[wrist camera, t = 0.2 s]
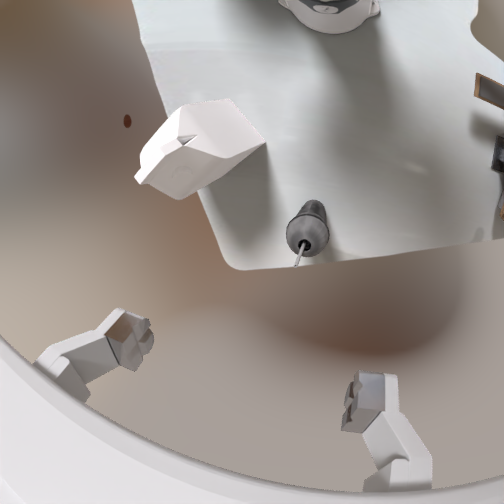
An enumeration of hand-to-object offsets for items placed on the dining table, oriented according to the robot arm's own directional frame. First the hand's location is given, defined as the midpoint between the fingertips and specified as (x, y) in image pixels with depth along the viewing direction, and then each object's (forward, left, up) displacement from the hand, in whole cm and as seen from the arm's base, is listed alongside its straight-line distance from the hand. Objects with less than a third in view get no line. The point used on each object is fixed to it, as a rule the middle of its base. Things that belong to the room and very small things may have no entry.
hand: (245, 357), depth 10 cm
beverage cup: (+12, 0, -48) cm, 49 cm away
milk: (-1, -19, -48) cm, 52 cm away
